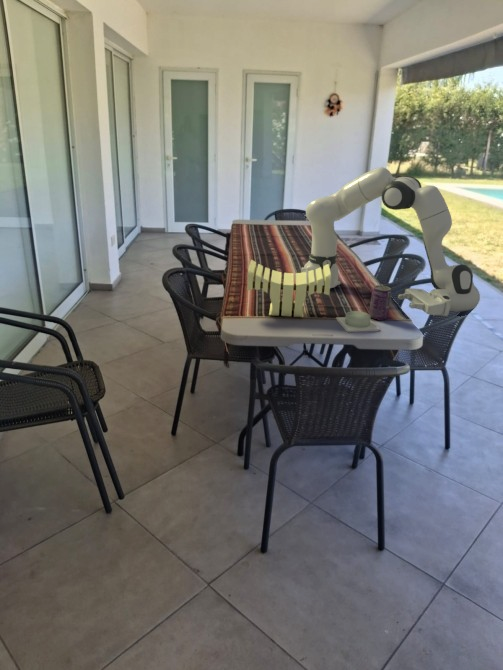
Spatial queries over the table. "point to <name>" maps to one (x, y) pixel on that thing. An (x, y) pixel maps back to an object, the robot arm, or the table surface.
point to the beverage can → (380, 302)
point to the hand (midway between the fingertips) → (404, 301)
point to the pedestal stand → (357, 322)
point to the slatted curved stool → (288, 287)
